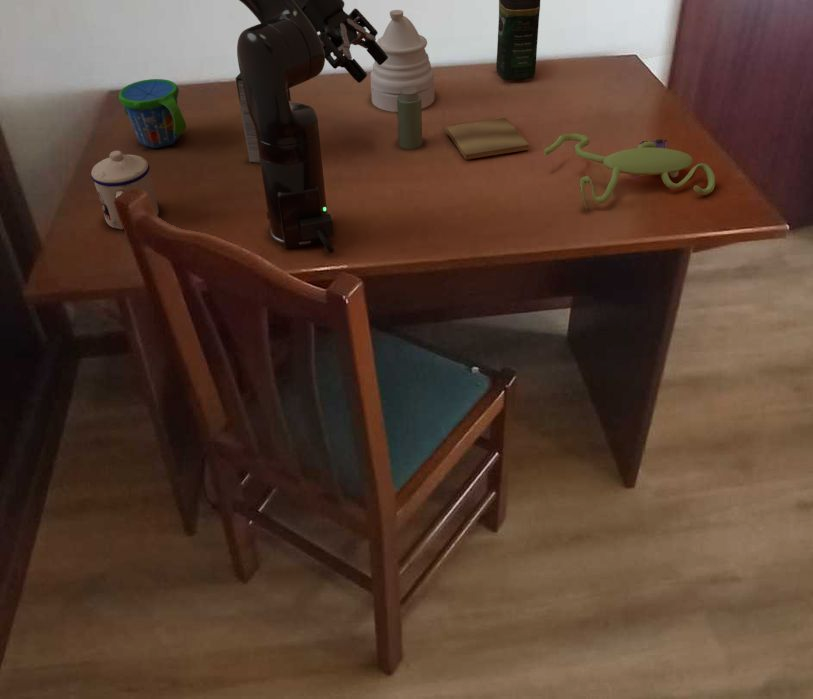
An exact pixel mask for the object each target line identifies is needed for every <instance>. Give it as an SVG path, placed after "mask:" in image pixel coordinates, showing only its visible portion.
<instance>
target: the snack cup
mask: <svg viewBox="0 0 813 699" xmlns="http://www.w3.org/2000/svg"><path fill="white" fill-rule="evenodd" d="M179 91H180V89H179V86H178V85H177V84H176V83H175V82H174V81H172V80H169V79H165V78H164V79H163V78H149V79H143V80H139V81H136V82H132V83H129V84H128V85H126V86H124V87H123V88H122V89H121V90H120V91H119V93H118V100H119V103H120V104H122V106H123V109H124V113H125V115H127V116H128V119H129V120H130V124H131V126H132V128H133V130H134V133H135V135H136V137H137V139H138V141H139V143H140V145H142V146H143V147H146V148H151V149H157V148H158V149H159V148H163V147H167V146H172V145H173V144H175V142H177V141H178V139H179V138H180V135H182V134H183V133H184V132H185V131H186V130H187V124H186V120H185V118H184V116H183V114H182V112H181V111H182V110H181V109H180V107H179V104H178V98H179Z"/></svg>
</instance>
